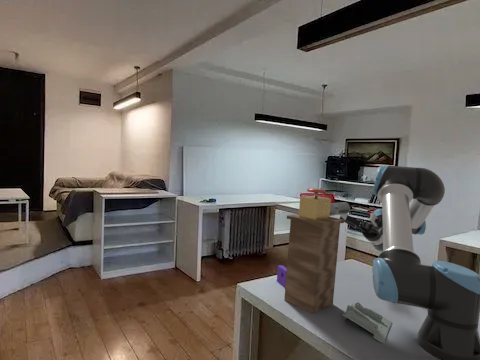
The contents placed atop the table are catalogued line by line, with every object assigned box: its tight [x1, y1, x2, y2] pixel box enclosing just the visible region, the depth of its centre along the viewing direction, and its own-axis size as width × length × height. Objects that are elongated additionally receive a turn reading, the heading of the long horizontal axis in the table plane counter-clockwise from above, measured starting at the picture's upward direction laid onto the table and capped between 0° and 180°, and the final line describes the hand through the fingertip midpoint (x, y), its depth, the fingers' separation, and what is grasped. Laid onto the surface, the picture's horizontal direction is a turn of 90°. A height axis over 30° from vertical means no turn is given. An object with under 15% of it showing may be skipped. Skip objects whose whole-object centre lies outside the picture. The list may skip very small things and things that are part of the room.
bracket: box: [276, 264, 287, 289], centre depth 130 cm, size 12×7×7 cm, turn 111°
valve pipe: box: [298, 188, 351, 221], centre depth 116 cm, size 24×7×10 cm, turn 133°
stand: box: [283, 213, 345, 314], centre depth 113 cm, size 14×14×30 cm
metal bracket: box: [342, 301, 393, 345], centre depth 100 cm, size 14×6×15 cm
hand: (354, 213), depth 131 cm, fingers open, 13 cm apart
